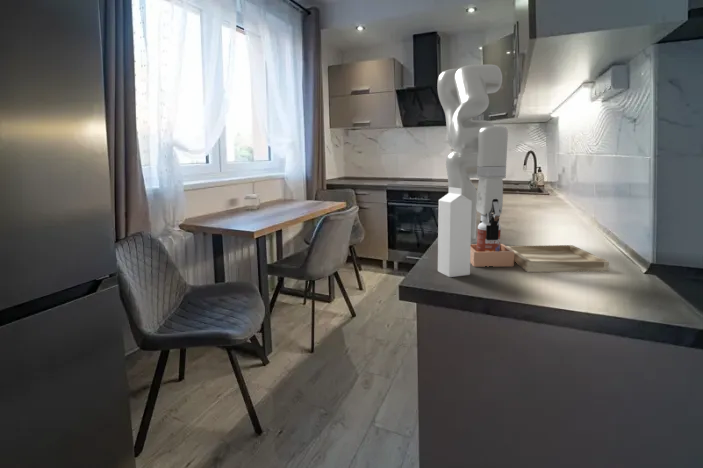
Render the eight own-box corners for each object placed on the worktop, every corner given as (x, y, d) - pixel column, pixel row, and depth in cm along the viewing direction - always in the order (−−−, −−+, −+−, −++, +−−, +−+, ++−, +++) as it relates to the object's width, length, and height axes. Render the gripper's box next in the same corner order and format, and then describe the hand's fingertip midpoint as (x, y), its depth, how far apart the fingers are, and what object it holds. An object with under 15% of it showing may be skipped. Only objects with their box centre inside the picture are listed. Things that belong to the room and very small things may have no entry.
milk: (449, 277, 104) (450, 189, 100) (437, 271, 110) (437, 187, 105) (470, 274, 106) (472, 187, 102) (457, 268, 111) (458, 186, 107)
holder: (465, 257, 124) (465, 244, 123) (502, 257, 123) (502, 243, 122) (473, 266, 113) (474, 252, 112) (513, 266, 112) (514, 251, 112)
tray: (504, 254, 126) (504, 246, 126) (571, 253, 125) (572, 245, 125) (527, 271, 107) (528, 262, 106) (608, 271, 105) (609, 261, 105)
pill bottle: (484, 258, 115) (486, 218, 112) (472, 252, 120) (473, 215, 118) (504, 255, 116) (506, 216, 114) (490, 250, 122) (492, 213, 120)
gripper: (470, 171, 122) (468, 231, 126) (485, 175, 105) (482, 244, 109) (496, 170, 122) (493, 230, 126) (515, 174, 105) (511, 243, 109)
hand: (488, 236), depth 117 cm, fingers closed on pill bottle, 6 cm apart
